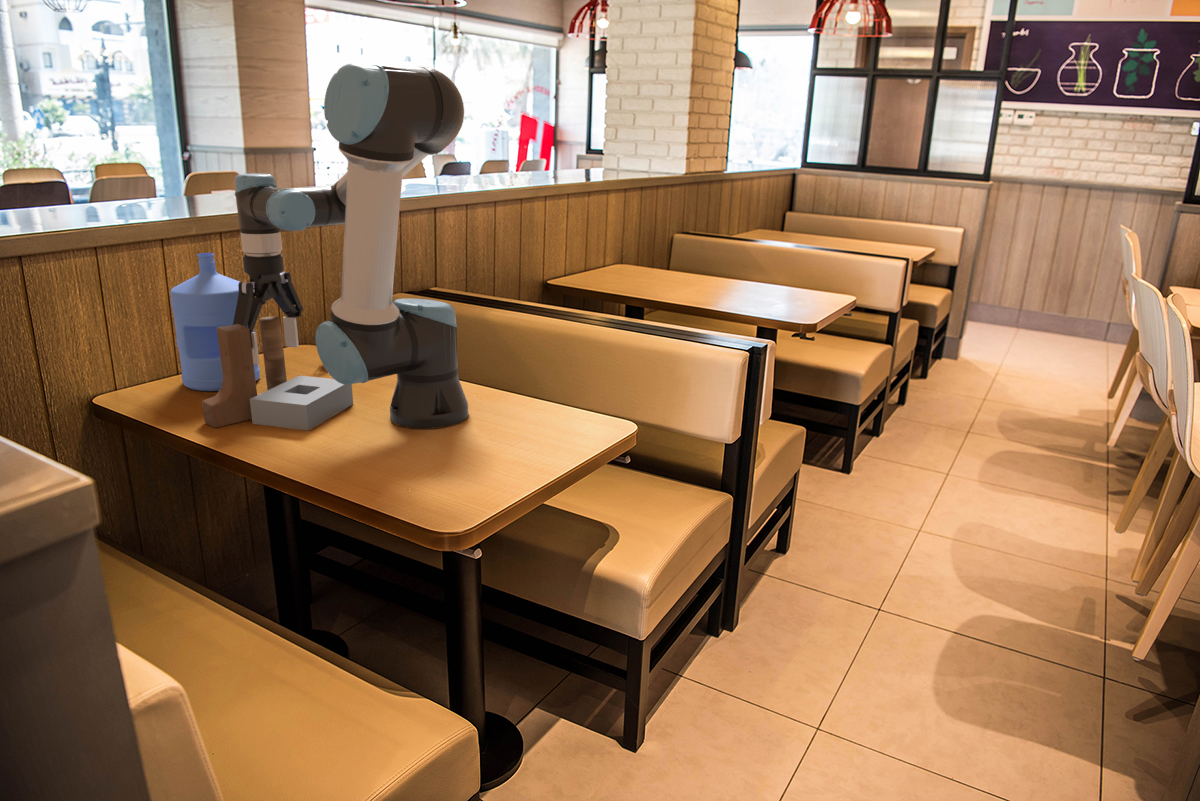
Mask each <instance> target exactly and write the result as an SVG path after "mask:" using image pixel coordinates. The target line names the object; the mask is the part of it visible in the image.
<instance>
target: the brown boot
mask: <svg viewBox="0 0 1200 801" xmlns="http://www.w3.org/2000/svg"><path fill="white" fill-rule="evenodd" d="M217 335H218V343H219V350H220V358H221V366H222V373H223V382H222V388H221V389H220V390H219V391H217V393H216V394H215V396H212V397H209V398H206V399H204V400H202V401H201V405H202V412H203V419H204V423H205V424H207V425H209V426H210V427H212V428H214V429H218V428H221V427H224V426H225V425H226V426H230V425H233V424H237V423H241V422H242V423H243V422H246V421H249V420H252V414H251V406H250V399H251V398H253V397H255V396H257V395H258V390H257V383H256V382H257V381H255V372H254V364H253V356H252V347H251V339H250V330H249V328H248V327H245V326H242V325H240V324H235V325H229V326H223V327H218V328H217Z"/></svg>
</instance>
